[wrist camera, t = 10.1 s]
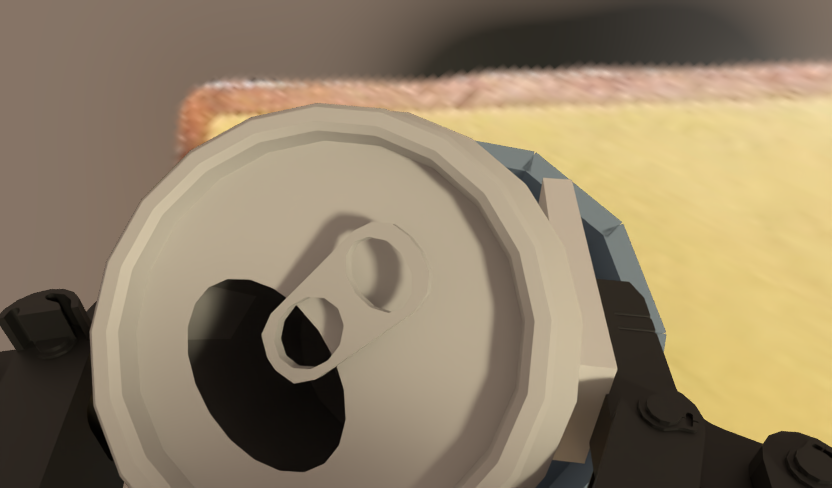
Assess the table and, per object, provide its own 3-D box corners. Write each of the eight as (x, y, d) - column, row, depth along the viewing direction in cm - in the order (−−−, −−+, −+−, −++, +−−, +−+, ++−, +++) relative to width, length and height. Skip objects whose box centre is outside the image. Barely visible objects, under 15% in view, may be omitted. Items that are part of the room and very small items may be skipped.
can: (268, 312, 19) (-65, 273, 7) (428, 190, 19) (370, -48, 7) (388, 487, 17) (224, 819, 5) (560, 352, 17) (759, 389, 6)
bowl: (553, 125, 28) (569, 87, 24) (685, 472, 25) (733, 502, 20) (237, 227, 29) (196, 208, 25) (318, 577, 25) (287, 627, 21)
